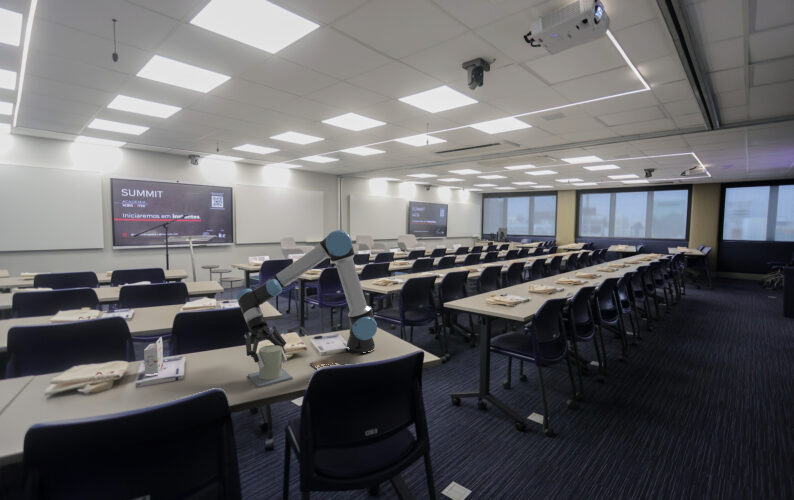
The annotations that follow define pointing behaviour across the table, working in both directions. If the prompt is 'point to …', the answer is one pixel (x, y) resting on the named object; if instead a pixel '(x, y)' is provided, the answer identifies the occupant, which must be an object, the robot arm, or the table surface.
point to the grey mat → (262, 383)
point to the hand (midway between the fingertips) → (274, 364)
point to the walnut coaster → (324, 362)
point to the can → (271, 362)
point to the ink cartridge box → (154, 357)
